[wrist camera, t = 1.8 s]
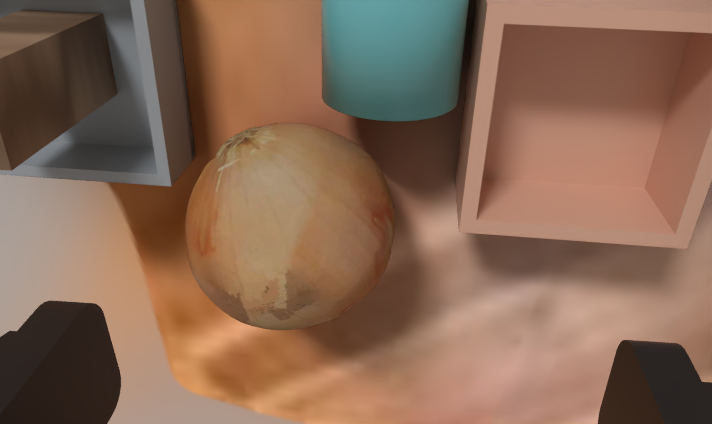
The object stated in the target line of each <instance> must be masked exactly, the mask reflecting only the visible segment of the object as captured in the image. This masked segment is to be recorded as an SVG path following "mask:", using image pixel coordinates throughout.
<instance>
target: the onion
mask: <svg viewBox="0 0 712 424" xmlns="http://www.w3.org/2000/svg"><path fill="white" fill-rule="evenodd" d="M394 227H395V219H394V210H393V205H392V201H391V197H390V193H389V189H388V186H387V183H386V180H385V178H384V175H383V173H382V171H381V169H380V168H379V166H378V165H377V163H376V162H375V161H374V160H373V158H372V157H371V156H370V155H369V154H368V153H367V152H366V151H365V150H363V149H362V148H361V147H360V146H358V145H357V144H355V143H354V142H352V141H351V140H349V139H347V138H345V137H343V136H341V135H339V134H336V133H334V132H331V131H329V130H326V129H323V128H319V127H316V126H312V125H308V124H300V123H275V124H270V125H266V126H263V127H254V128H250V129H247V130H245V131H243V132H241V133H239V134H237V135H235V136H233V137H231V138H229V139H228V140H227V141H226V142H224V143H223V144H222V146H221V147H220V149H219V150H218V152H217V153H216V157H215V159H213V160H211V161H210V162H209V163H208V164H207V165H206V166H205V168H204V169H203V171H202V173H201V175H200V177H199V178H198V180H197V182H196V184H195V186H194V188H193V191H192V194H191V196H190V199H189V203H188V208H187V213H186V225H185V236H186V245H187V253H188V259H189V263H190V267H191V270H192V273H193V275H194V277H195V279H196V281H197V283H198V285H199V287H200V288H201V289H202V290H203V291H204V293H205V294H206V295H207V296H208V297H209V299H210V300H211V301H212V302H213V303H214V304H215V305H216V306H217V307H218V308H220V309H221V310H222V311H224V312H225V313H227V314H228V315H229V316H231V317H232V318H234V319H236V320H238V321H240V322H242V323H245V324H248V325H251V326H255V327H259V328H265V329H271V330H292V329H299V328H305V327H309V326H313V325H317V324H321V323H324V322H327V321H330V320H332V319H335V318H337V317H339V316H340V315H342V314H343V313H345V312H346V311H348V310H349V309H351V308H353V307H354V306H355V305H356V304H357V303H358V302H360V301H361V300H362V299H363V298H364V297H366V296H367V295H368V294H369V293H370V292H371V291H372V290H373V289H374V287H375V286H376V285H377V283H378V282H379V280H380V278H381V276H382V274H383V273H384V271H385V269H386V267H387V264H388V261H389V257H390V254H391V247H392V242H393V235H394Z"/></svg>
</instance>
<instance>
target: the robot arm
mask: <svg viewBox="0 0 712 424" xmlns="http://www.w3.org/2000/svg"><path fill="white" fill-rule="evenodd" d="M120 388H121V376H120V370H119V367H118V363H117V360H116V357H115V353H114V349H113V345H112V342H111V339H110V335H109V331H108V327H107V324H106V320H105V317H104V314H103V311H102V309H101V308H100V307H99V306H98V305H97V304H93V303H78V302H63V301H47V302H44V303H43V304H41V305H40V306H39V307H38V308H37V309H36V310H35V311H34V313H33V314H32V315H31V316H30V317H29V318H28V319H27V321H26V322H25V323H24V324H23V325H22V326H21V328H19V330H18V331H9V332H7V333H6V334H4V335H3V336H1V337H0V424H107V423H108V421H109V419H110V418H111V416H112V414H113V412H114V410H115V408H116V405H117V402H118V399H119V395H120ZM598 424H712V383H709V382H702V381H701V379H700V377H699V375H698V373H697V372H696V370H695V368H694V366H693V364H692V362H691V360H690V358H689V356H688V354H687V353H686V351H685V349H684V348H683V347H682V346H681V345H679V344H677V343H663V342H648V341H633V340H623V341H622V342H621V343H620V344H619V346H618V348H617V351H616V355H615V358H614V362H613V365H612V369H611V372H610V376H609V380H608V383H607V387H606V390H605V394H604V397H603V401H602V404H601V408H600V412H599V418H598Z"/></svg>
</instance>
